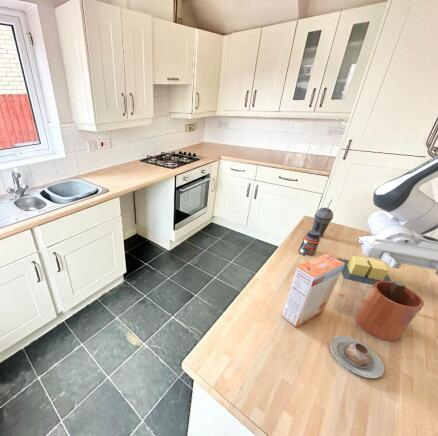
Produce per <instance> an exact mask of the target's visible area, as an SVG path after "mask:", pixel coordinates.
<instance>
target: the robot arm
mask: <svg viewBox="0 0 438 436" xmlns="http://www.w3.org/2000/svg"><path fill="white" fill-rule="evenodd" d="M437 178H438V155H435V156H434V157H432V158H430V159H428V160H427V161H425V162H423V163H422V164H419V165H418V166H416V167H414V168H412V169H411V170H409V171H407V172H405V173H403V174H401V175H399V176H398V177H395V178H393V179H390V180H388V181H386V182H384V183H382V184H381V185H379V186H378V187H377V188H376V189H375V190H374V192H373V196H372V201H373V205H374V206H376V207H377V208H378V209H381V210H377V211H375V212H373V213H371V214H370V215H369V216H368V219H367V222H366V225H367V229H368V231H369V233H370V235H364V236H358V237H357V241H358V243H359V244H361V246H360V248H361V253H362V254H363V255H364V256H366V257H368V258H370V259H376V260H380V261H383V262H384V263H386V264H387V265H389V266H390V268H394V269H400V267H401V266H402V265H403V264H404V265H407V266H408V265H409V266H413V267H418V268H424V269H429V270H434V271H435V275H436V276H438V238H435V237H431V236H427V235H426V234H429V233H432V232H433V231H435V230H437V229H438V202H437V201H436V200H434V199H433V198H431V197H430V196H428V195H427V194H426V193H424V192H423V191H422V190H420V187H421V186H422V185H425V184H426V183H428V182H430V181H432V180H434V179H437Z"/></svg>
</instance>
